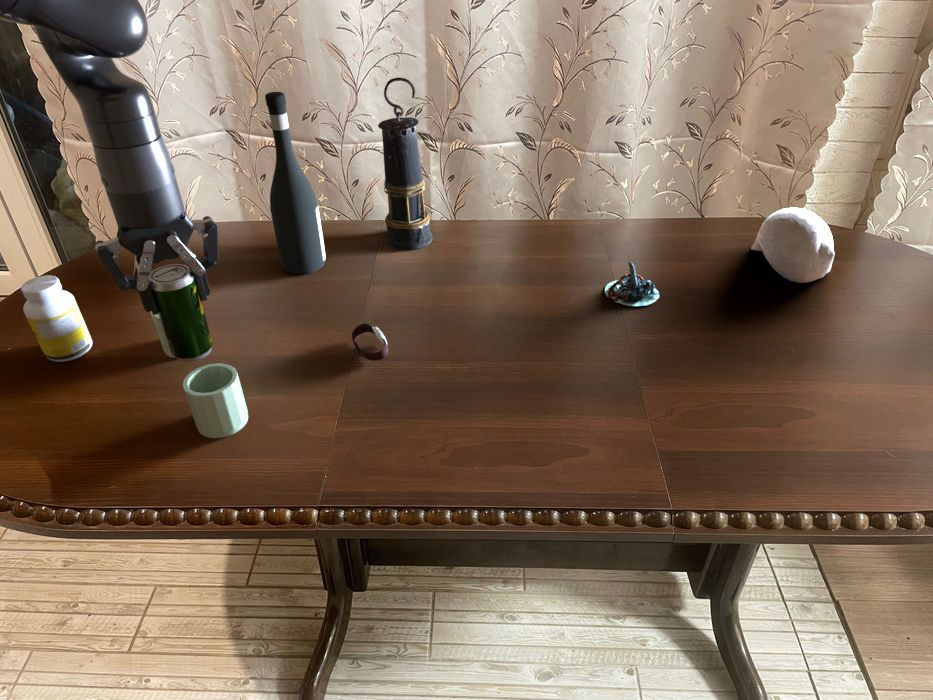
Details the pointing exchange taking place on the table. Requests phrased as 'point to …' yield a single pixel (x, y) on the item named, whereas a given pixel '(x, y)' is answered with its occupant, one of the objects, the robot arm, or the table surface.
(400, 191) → the lantern
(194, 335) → the beer can
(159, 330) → the far pot
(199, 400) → the near pot
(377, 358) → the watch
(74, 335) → the pill bottle
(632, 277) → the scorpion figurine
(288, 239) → the wine bottle
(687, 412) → the table surface
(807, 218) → the seashell
